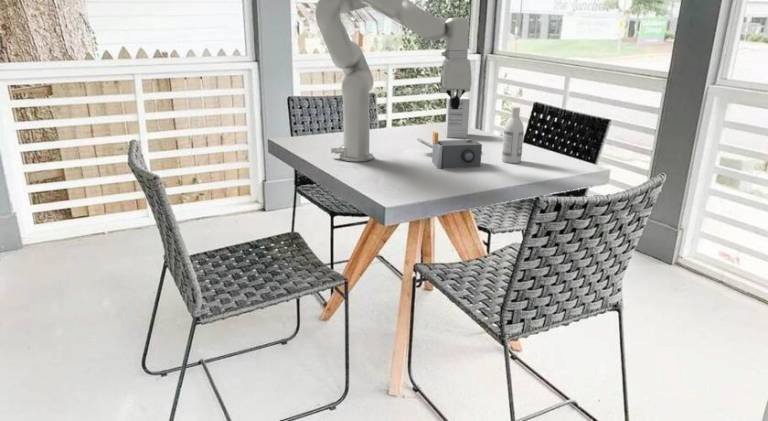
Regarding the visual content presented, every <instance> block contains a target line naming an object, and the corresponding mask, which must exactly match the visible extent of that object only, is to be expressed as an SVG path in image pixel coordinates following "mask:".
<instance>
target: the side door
mask: <svg viewBox="0 0 768 421" xmlns="http://www.w3.org/2000/svg"><path fill="white" fill-rule="evenodd" d="M438 141H439V132H437V131H432V145H433V148H432V151H431V153H432V154H431V155H432V156H431V162H432V163H433V164H434V165H435V166H436V167H437V169H439V170H441V169H442V146H441V145H439V144H438Z"/></svg>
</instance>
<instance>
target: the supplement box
mask: <svg viewBox="0 0 768 421" xmlns="http://www.w3.org/2000/svg"><path fill="white" fill-rule="evenodd" d="M470 102H471V101H470V98H469V97H468V96H465V95H462V96H461V98H460V106H459V107H458V109H455V110H453V109H452V108H451V107H450V96H449V95H447V96H446V108H445V109H446V111H445V130H444V131H445V132H444V133H445V136H446V138H455V139H456V138H459V139H462V138H463V139H468V136H469V134H468V133H469V132H468V131H469V120H470V119H469V116H470Z"/></svg>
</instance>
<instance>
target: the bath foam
mask: <svg viewBox="0 0 768 421" xmlns="http://www.w3.org/2000/svg"><path fill="white" fill-rule="evenodd" d="M510 113H511V114H510V118H509V119H508V120H507V121H506V123H505V125H504V129H503V130H504V131H503V139H502V140H503V141H502V154H501V156H502V157H501V160H502V162H503V163H506V164H519V163H521V162H522V154H523V144H524V142H523V141H524V125H523V122H522V120H521V118H520V113H521V107H520V106H512V107H511V112H510Z"/></svg>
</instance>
